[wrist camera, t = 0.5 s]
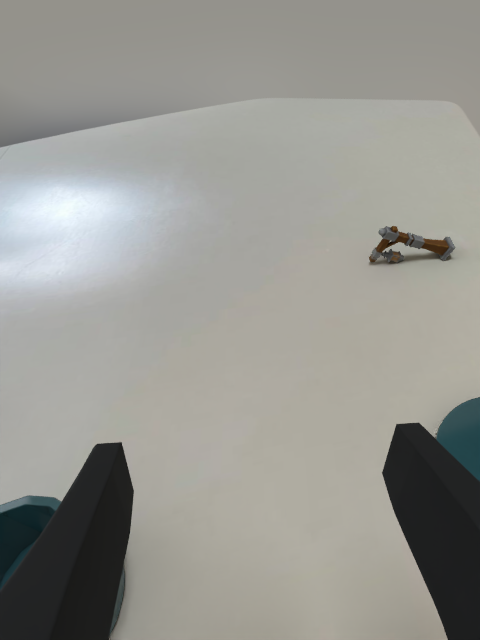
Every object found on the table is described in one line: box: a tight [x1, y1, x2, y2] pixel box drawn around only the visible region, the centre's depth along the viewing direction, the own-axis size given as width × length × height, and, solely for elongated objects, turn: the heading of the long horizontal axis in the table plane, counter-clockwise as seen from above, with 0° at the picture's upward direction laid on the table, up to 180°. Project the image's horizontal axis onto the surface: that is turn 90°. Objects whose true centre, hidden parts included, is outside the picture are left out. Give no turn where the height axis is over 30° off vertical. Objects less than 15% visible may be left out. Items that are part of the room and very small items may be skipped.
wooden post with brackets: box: [369, 226, 455, 263], centre depth 43 cm, size 2×8×4 cm, turn 90°
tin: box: [0, 496, 125, 636], centre depth 26 cm, size 10×10×6 cm
